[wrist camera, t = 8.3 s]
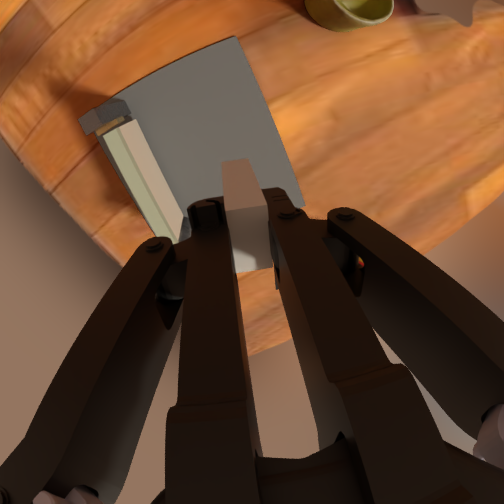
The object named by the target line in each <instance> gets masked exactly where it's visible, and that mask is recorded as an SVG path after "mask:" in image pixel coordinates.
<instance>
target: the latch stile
mask: <svg viewBox="0 0 504 504" xmlns="http://www.w3.org/2000/svg"><path fill="white" fill-rule="evenodd" d="M129 114H131V111H130V109H129V107H128V105H127V103H126V101H121V102H116V103H112V104H108V105H104V106H100V107H96V108H93V109H91V110H90V111H89V112H87V113H86V114H84V115H83V116H82V117H80V118H79V119H78V121H79V123H80V125H81V126H82V128H83V130H84V132H85V134H86V136H87V135H89V134H91V133H93V132H95V131H96V133H97V135H98V136H100V135H102V134H104V133H105V132H107V131H109V130H110V129H112V128H113V127H115V126H116V125H118V124H119V123H121V122H123V121H124V120H125V119H124V117H126V116H128V115H129ZM97 130H98V131H97Z"/></svg>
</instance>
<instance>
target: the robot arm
mask: <svg viewBox="0 0 504 504" xmlns="http://www.w3.org/2000/svg"><path fill="white" fill-rule="evenodd" d="M221 166H222V181H223V195H224V196H219V197H213V198H207V199H203V200H199V201H196V202H194V203H192V204H191V205H189V206H188V208H187V213H188V217H189V221H190V226H191V237H189V238H188V239H186V240H184V241H181V242H179V243H176V244H173V242H172V240H171V238H168V237H164V236H160V237H152V238H150V239H148V240H147V241H145V242H143V243H142V244H141V245H140V246H139V247H138V248H137V250H136V251H135V252H134V254H133V255H132V256H131V258H130V259H129V260H128V262H127V263H126V265H125V266H124V267H123V269H122V270H121V272H120V273H119V274H118V276H117V277H116V279H115V280H114V281H113V283H112V285H111V286H110V287H109V289H108V290H107V292H106V293H105V295H104V296H103V298H102V299H101V301H100V302H99V304H98V305H97V307H96V308H95V310H94V311H93V313H92V314H91V316H90V318H89V319H88V321H87V322H86V324H85V325H84V327H83V329H82V330H81V332H80V333H79V335H78V337H77V338H76V340H75V342H74V343H73V345H72V347H71V348H70V350H69V352H68V354H67V355H66V357H65V359H64V360H63V362H62V364H61V366H60V368H59V369H58V371H57V373H56V375H55V377H54V379H53V380H52V383H51V384H50V386H49V388H48V390H47V392H46V394H45V396H44V398H43V399H42V401H41V404H40V405H39V408H38V409H37V412H36V414H35V416H34V418H33V420H32V422H31V424H30V426H29V429H28V431H27V433H26V435H25V438H24V439H23V440H22V441H21V442H20V444H19V445H18V446H17V447H16V448H15V449H14V451H13V452H12V453H11V454H10V456H9V457H8V458H7V459H6V460H5V461H4V463H3V464H2V465H1V466H0V504H114V503H115V502H116V500H117V498H118V496H119V494H120V492H121V490H122V488H123V486H124V483H125V480H126V477H127V475H128V472H129V469H130V465H131V462H132V459H133V456H134V453H135V450H136V446H137V444H138V441H139V438H140V435H141V432H142V429H143V426H144V423H145V420H146V417H147V414H148V411H149V408H150V406H151V403H152V400H153V397H154V394H155V391H156V388H157V386H158V383H159V380H160V377H161V375H162V372H163V369H164V367H165V364H166V361H167V358H168V356H169V353H170V351H171V348H172V345H173V343H174V340H175V337H176V335H177V332H178V330H179V327H180V324H181V322H182V326H181V340H180V356H179V357H180V358H179V374H178V397H177V403H176V405H175V406H173V407H170V409H169V411H168V413H167V420H166V438H165V489H164V490H163V491H161V492H160V493H159V495H158V496H157V497H156V498H155V499H154V500H153V501H152V503H151V504H504V322H503V321H502V320H501V319H500V318H498V316H497V315H495V314H494V313H493V312H492V311H491V310H490V309H489V308H488V307H486V306H485V305H484V304H483V303H482V302H481V301H479V300H478V299H477V298H476V297H475V296H474V295H472V294H471V293H470V292H469V291H468V290H466V289H465V288H464V287H463V286H461V285H460V284H459V283H458V282H457V281H455V280H454V279H453V278H452V277H450V276H449V275H448V274H446V273H445V272H444V271H443V270H441V269H440V268H439V267H437V266H436V265H435V264H433V263H432V262H431V261H430V260H428V259H427V258H426V257H424V256H423V255H421V254H420V253H419V252H417V251H416V250H415V249H413V248H412V247H410V246H409V245H408V244H406V243H405V242H403V241H402V240H401V239H399V238H398V237H396V236H395V235H393V234H392V233H391V232H389V231H388V230H386V229H385V228H383V227H382V226H380V225H379V224H377V223H376V222H374V221H373V220H371V219H370V218H368V217H367V216H365V215H364V214H362V213H361V212H359V211H357V210H354V209H350V208H348V207H345V208H344V207H340V208H336V209H333V210H330V211H329V212H328V213H327V220H316V219H309V218H308V216H307V214H306V213H305V212H304V211H303V210H302V209H300V208H297V207H295V206H294V205H293V203H292V201H291V200H290V198H289V196H288V195H287V193H286V191H285V190H283V189H281V188H279V187H274V188H267V189H261V188H260V186H259V183H258V181H257V178H256V176H255V174H254V171H253V169H252V166H251V164H250V162H249V159H248V158H246V159H239V160H232V161H226V162H221ZM359 257H360V258H361V259H362V261H363V263H364V266H362V265H361V264H360V263H359ZM272 259H273V261H272ZM273 263H274V272H275V285H276V290H278V289H279V291H280V295H281V298H282V302H283V305H284V309H285V312H286V316H287V320H288V323H289V327H290V330H291V334H292V337H293V341H294V345H295V348H296V352H297V355H298V359H299V363H300V366H301V370H302V374H303V377H304V381H305V385H306V388H307V392H308V395H309V399H310V403H311V407H312V410H313V414H314V418H315V422H316V426H317V431H318V441H319V449H320V451H318V452H316V453H314V454H312V455H310V456H308V457H306V458H301V459H286V458H269V457H263V453H262V448H261V443H260V437H259V432H258V424H257V418H256V411H255V404H254V397H253V391H252V384H251V377H250V370H249V363H248V355H247V348H246V341H245V334H244V326H243V319H242V311H241V304H240V296H239V288H238V280H237V275H236V273H240V272H247V271H253V270H259V269H266V268H272V267H273ZM373 329H374V330H375V331H376V332H377V333H378V334H379V336H380V337H381V338H382V339H383V340H384V341H385V342H386V343H387V345H388V346H389V347H390V348H391V349H392V350H393V351H394V353H395V354H396V355H397V356H398V357H399V358H400V359H401V361H402V362H403V363H404V364H405V365H406V366H407V367H408V368H407V367H406V366H404V365H403V364H401V363H400V364H392V363H391V362H390V361H389V359H388V358H387V356H386V354H385V352H384V350H383V348H382V346H381V344H380V342H379V340H378V338H377V336H376V334H375V332H374V330H373ZM409 370H410V371H411V372H412V373H413V374H414V376H415V377H416V378H417V379H418V380H419V381H420V382H421V384H422V385H423V386H424V387H425V388H426V390H427V391H428V392H429V393H430V394H431V395H432V397H433V398H434V399H435V400H436V402H437V403H438V404H439V405H440V406H441V408H442V409H443V410H444V411H445V412H446V414H447V415H448V416H449V417H450V418H451V419H452V420H453V421H454V422H455V423H456V425H457V426H459V427H460V428H461V429H462V430H463V431H464V432H465V433H467V434H468V435H469V436H471V437H472V438H474V439H476V440H477V443H476V444H475V445H474V448H473V455H474V456H473V455H471V454H469V453H467V452H465V451H463V450H461V449H459V448H457V447H455V446H453V445H451V444H449V443H447V442H446V441H444V440H443V439H442V437H441V435H440V432H439V430H438V428H437V425H436V423H435V421H434V419H433V417H432V415H431V412H430V410H429V408H428V406H427V404H426V402H425V400H424V398H423V396H422V393H421V391H420V390H419V387H418V385H417V383H416V381H415V379H414V377H413V375H412V374H411V372H410V371H409ZM484 459H485V460H486V461H487V462H485V461H484Z"/></svg>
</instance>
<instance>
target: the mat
mask: <svg viewBox="0 0 504 504" xmlns="http://www.w3.org/2000/svg"><path fill="white" fill-rule="evenodd" d="M121 101H126V103H127V105H128V107H129V109H130V111H131V114H129V115H128V116H126V117H124V119H125V120H124V121H123V122H121V123H119V124H118V125H116V126H115V127H113V128H112V129H110V130H109V131H107V132H105V133H104V134H102V135H100V136H98V135H97V133H96V131H95V132H94V134H95V136H96V138H97V139H98V141H99V143H100V145H101V147H102V148H103V150H104V152H105V154H106V155H107V157H108V159H109V161H110V162H111V164H112V166H113V168H114V169H115V171H116V173H117V174H118V176H119V178H120V180H121V181H122V183H123V185H124V186H125V188H126V190H127V191H128V193H129V194H130V196H131V198H132V199H133V201H134V203H135V204H136V206H137V207H138V209H139V211H140V212H141V214H142V215H143V217H144V218H145V220H146V222H147V223H148V225H149V226H150V224H149V222H148V220H147V219H146V217H145V215H144V213H143V212H142V210H141V208H140V206H139V204H138V203H137V201H136V199H135V197H134V195H133V194H132V192H131V190H130V188H129V186H128V184H127V182H126V181H125V179H124V177H123V175H122V173H121V171H120V169H119V167H118V165H117V163H116V161H115V159H114V157H113V155H112V153H111V152H110V150H109V147H108V145H107V143H106V141H105V139H104V137H103V136H104V135H105V134H107V133H109V132H111V131H112V130H114V129H116V128H118V127H120V126H122V125H124V124H126V123H128V122H130V121H133V120H135V119H136V120H137V122H138V124H139V126H140V129H141V131H142V133H143V135H144V137H145V139H146V141H147V143H148V145H149V148H150V150H151V152H152V154H153V156H154V158H155V160H156V162H157V164H158V166H159V168H160V170H161V172H162V174H163V176H164V178H165V180H166V182H167V184H168V186H169V188H170V190H171V192H172V194H173V196H174V198H175V200H176V202H177V204H178V206H179V208H180V210H181V212H182V214H183V217H187V218H189V217H188V213H187V208H188V206H189V205H191V204H192V203H194V202H196V201H199V200H203V199H207V198H213V197H219V196H224V195H223V181H222V166H221V162H226V161H232V160H239V159H246V158H248V159H249V162H250V164H251V166H252V169H253V171H254V174H255V176H256V178H257V181H258V183H259V186H260V188H261V189H267V188H274V187H279V188H281V189H283V190H285V191H286V193H287V195H288V196H289V198H290V200H291V201H292V203H293V205H294V206H295V207H297V208H301V207H304V206H306V205H305V202H304V200H303V197H302V194H301V191H300V188H299V186H298V183H297V180H296V177H295V175H294V172H293V169H292V166H291V164H290V161H289V159H288V156H287V153H286V151H285V148H284V146H283V143H282V140H281V138H280V135H279V133H278V130H277V128H276V125H275V123H274V121H273V118H272V116H271V113H270V111H269V108H268V106H267V104H266V101H265V99H264V97H263V94H262V92H261V90H260V87H259V85H258V83H257V81H256V78H255V76H254V74H253V72H252V69H251V67H250V65H249V63H248V61H247V59H246V56H245V54H244V52H243V50H242V48H241V46H240V44H239V42H238V40H237V37H236V36H234V37H232V38H229V39H226V40H224V41H221V42H219V43H216V44H214V45H211V46H209V47H206V48H204V49H202V50H199V51H197V52H195V53H193V54H190V55H188V56H186V57H184V58H182V59H180V60H178V61H176V62H174V63H172V64H170V65H168V66H166V67H164V68H162V69H160V70H158V71H156V72H154V73H152V74H151V75H149V76H147V77H145V78H143V79H142V80H140V81H138V82H136V83H135V84H133V85H131V86H130V87H128V88H126V89H125V90H123V91H121V92H120V93H118V94H117V95H115V96H114V97H112V98H110V99H109V100H107V101H106V102H104V103H103V104H101V105H100V106H104V105H108V104H112V103H116V102H121ZM100 106H99V107H100ZM97 131H98V130H97ZM150 228H151V229H152V227H151V226H150ZM152 231H153V229H152ZM153 232H154V231H153ZM154 234H155V232H154ZM155 236H156V234H155ZM156 237H157V236H156ZM190 237H191V234H190Z"/></svg>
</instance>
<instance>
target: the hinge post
mask: <svg viewBox="0 0 504 504" xmlns="http://www.w3.org/2000/svg"><path fill="white" fill-rule="evenodd" d="M190 234H191V226H190V221H189V218H187V217H183V220H182V225H181V229H180V234H179V239H178V242H181V241H184V240H186V239H188V238H189V237H190Z"/></svg>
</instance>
